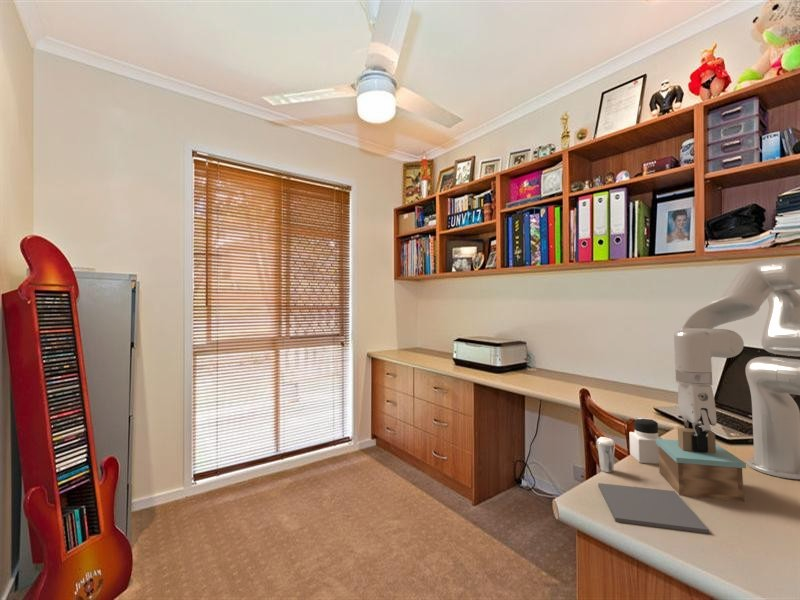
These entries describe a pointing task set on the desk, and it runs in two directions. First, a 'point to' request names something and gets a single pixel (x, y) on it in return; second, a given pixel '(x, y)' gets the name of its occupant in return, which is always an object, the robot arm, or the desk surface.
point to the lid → (685, 454)
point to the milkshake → (606, 454)
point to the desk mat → (650, 508)
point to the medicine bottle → (645, 441)
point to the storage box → (702, 479)
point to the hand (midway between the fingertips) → (696, 448)
